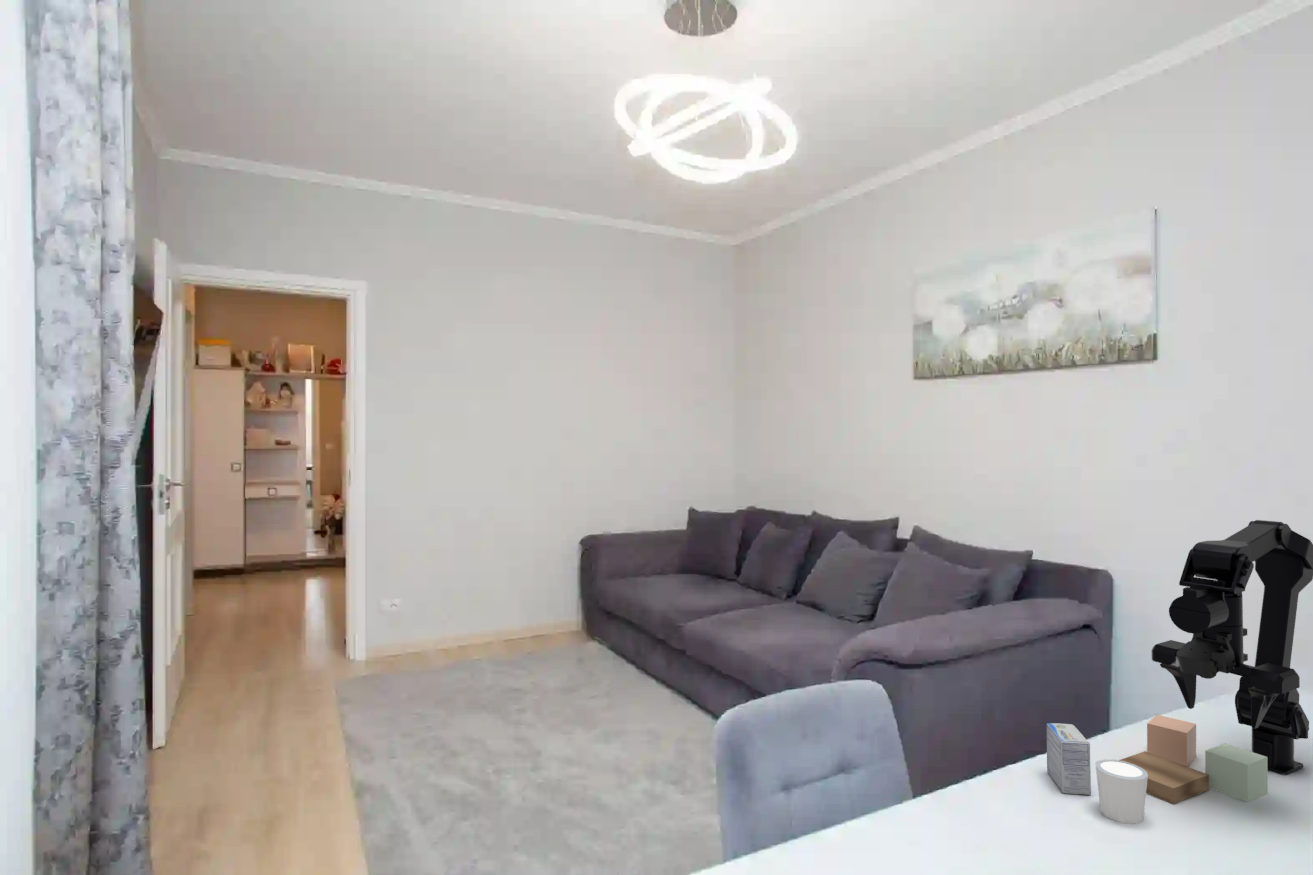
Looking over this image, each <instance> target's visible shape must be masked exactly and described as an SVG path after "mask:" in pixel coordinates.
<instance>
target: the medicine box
mask: <svg viewBox="0 0 1313 875" xmlns="http://www.w3.org/2000/svg"><path fill="white" fill-rule="evenodd" d="M1046 769H1047V770H1046V771H1047V773H1048V775H1049V776H1050V777H1051V779H1052V780H1053V782H1054V783H1055V784H1056V786H1057V787H1058V788H1059V789H1060V791H1061V793H1062V794H1069V795H1083V796H1084V795H1085V796H1090V795H1091V794H1092V785H1091V782H1092V781H1091V779H1092V776H1091V743H1090V741H1089V740H1087V738H1086V737H1084V735H1083V733H1081V732H1080V731H1079V729H1078V728H1077V727H1076V726H1075V725H1074V724H1070V723H1059V722H1058V723H1057V722H1053V723H1052V722H1051V723H1049V722H1047V723H1046Z"/></svg>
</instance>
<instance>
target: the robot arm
mask: <svg viewBox="0 0 1313 875" xmlns="http://www.w3.org/2000/svg"><path fill="white" fill-rule="evenodd" d="M1184 563H1185V564H1184V567H1183V569H1182V573H1181V577H1180V579H1179V582H1178V584H1179V586H1182V587H1183V588H1182V596H1179V597H1176V598H1175V599H1174V600H1173V601H1172V602H1171V604H1170V606H1169V608H1168V615H1169V617H1170V620H1171V621H1172V624H1174V625H1175V626H1176V627H1177V629H1178V630H1181V631H1183V632H1186V633H1187V634H1192V638H1191V640H1190V641H1189V640H1188V641H1187V642H1186V643H1185V642H1181V641H1177V640H1173V639H1170V640H1166V641H1162V642H1159V643H1156V644H1154V646H1153V647H1152V648H1151V661H1152V662H1155V663H1159V666H1160V668H1162V669H1165V670H1166V671H1168V673H1170V674H1171V675H1172V676H1173V678H1174V680H1175V681H1176V683H1177V685H1178V688H1179V691H1180V693H1181V695H1182V697H1183V700H1184V702H1185V704H1186V706H1187V708H1188V709H1190V710H1192V709H1194V708H1195V704H1196V699H1197V698H1196V696H1197V676H1199V677H1200V678H1203V679H1206V680H1210V679H1213V678H1215V677H1216V676H1217V674H1219V673H1222V674H1223V673H1224V674H1231V675H1232V674H1233V675H1236V676H1240V678H1239V682H1238V683H1239V687H1238V690H1237V691H1236V693H1235V695H1234V696H1235V697H1234V707H1235V711H1236V716H1237V723H1238V724H1240V725H1246V726H1249V727H1251V752H1254V753H1257V754H1260V755H1263V756H1266V757H1267V770H1271V771H1274V772H1276V773H1280V774H1283V775H1288V774H1291V773H1293V772H1295V771H1297V770H1300V769H1302V768H1304V763H1302V762H1299V761H1296V760H1295V740H1296V741H1297V740H1299V739H1305V740H1306V739H1309V732H1310V721H1309V718H1308V717H1307V715H1306V713H1305V711H1304V709H1303V707H1302V705H1301V704H1300V693H1299V691H1298V689H1300V687H1301V686H1300V676H1299V674H1298V673H1297V672H1296V670H1295V668H1291V662H1292V654H1293V646H1294V635H1295V626H1296V618H1297V611H1298V602H1299V595H1300V593H1301V592H1302V591H1303V590H1304V589H1305V588H1306V587H1307V586H1308V585H1309V584H1310V583H1311V582H1312V581H1313V543H1312V541H1311V539H1309V538H1307V537H1305V536H1303V535H1301V534H1300V533H1297V532H1296V531H1294V530H1292V528H1291V527H1290V526H1289V525H1288V524H1287V523H1284V522H1282V521H1274V520H1262V519H1255V520H1252V521H1250V522H1249V523H1248V525H1247V526H1246V527H1244V528H1242V529H1240V530H1238V531H1237V532H1235V533H1233V534H1231V535H1230V536H1228V537H1227V538H1224V539H1221V540H1204V541H1199V542H1197V543H1195V544H1194V546H1193V547H1192V548H1191V549H1190V550H1189V552H1188V554H1187V558H1186V561H1185V562H1184ZM1254 563H1255V564H1254ZM1253 570H1255V572H1256V574H1257V576H1258V578H1259V579H1260V581H1261V582H1262V584H1263V586H1264V587H1263V596H1262V604H1261V612H1260V620H1259V628H1258V629H1259V630H1258V636H1257V646H1256V652H1255V653H1256V654H1255V660H1254V665H1251V664H1250V665H1249V664H1245V663H1244V662H1248V661H1249V654H1247V653H1244V637H1246V636H1248V628H1245V627H1244V622H1243V621H1244V620H1243V619H1244V616H1243V615H1244V614H1243V612H1244V611H1243V610H1244V609H1243V608H1244V607H1243V592H1246V587H1247V585H1248V583H1249V580H1250V578H1251V575H1252V573H1253Z"/></svg>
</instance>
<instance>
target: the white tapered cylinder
mask: <svg viewBox="0 0 1313 875" xmlns="http://www.w3.org/2000/svg"><path fill="white" fill-rule="evenodd" d="M1095 771H1096V781H1097V782H1096V783H1097V789H1098V790H1097V791H1098V792H1097V793H1098V800H1099V802H1098V803H1099V810H1100V813H1102V815H1103V816H1105V817H1107V818H1108V819H1110V820H1113V821H1115V822H1119V823H1124V824H1129V825H1130V824H1132V825H1134V824H1136V825H1137V824H1140V823H1142V822H1143V821H1144V816H1145V806H1146V796H1147V793H1146V789H1147V780H1148V774H1147V772H1146V771H1145V770H1144V769H1143V768H1141V767H1139V766H1136V765H1134V764H1131V763H1128V762H1124V761H1118V759H1101V760H1098V761H1097V762H1095Z"/></svg>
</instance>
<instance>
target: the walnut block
mask: <svg viewBox="0 0 1313 875" xmlns="http://www.w3.org/2000/svg"><path fill="white" fill-rule="evenodd" d="M1117 760H1118V759H1117ZM1118 761H1124V762H1128V763H1131V764H1134V765H1136V766H1139V767H1141V768H1143V769H1144V770H1145V771H1146V772H1147V774H1148V780H1147V789H1146V795H1150V796H1152V797H1155V798H1157V799H1159V800H1162V801H1164V802H1167V803H1169V804H1172V805H1175V804H1177V803H1180V802H1182V801H1185V800H1187V799H1189V798H1192V797H1194V796H1197V795H1199V794H1202V793H1204V792H1207V791H1209V790H1210V788H1209V775H1208V774H1206V773H1205V772H1203V771H1200V770H1197V769H1194V768H1192V767H1189V766H1188V767H1187V766H1184V765H1181V764H1178V763H1176V762H1173V761H1170V760H1167V759H1165V758H1162V757H1159V756H1157V755H1154V754H1151V753H1148V752H1147V750H1146V751H1142V752H1139V753H1136V754H1132V755H1131V756H1127V757H1125V758H1121V759H1119V760H1118Z"/></svg>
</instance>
